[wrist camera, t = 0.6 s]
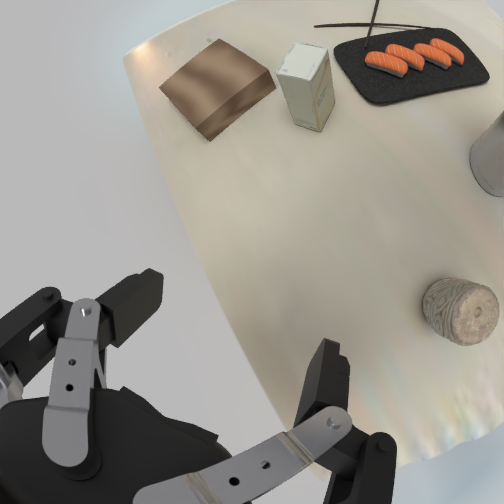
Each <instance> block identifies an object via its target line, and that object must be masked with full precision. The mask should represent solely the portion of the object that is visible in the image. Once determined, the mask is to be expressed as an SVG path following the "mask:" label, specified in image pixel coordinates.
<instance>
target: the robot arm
mask: <svg viewBox="0 0 504 504" xmlns="http://www.w3.org/2000/svg"><path fill="white" fill-rule="evenodd" d="M470 163H471V168H472V171H473V173H474V176H475V178H476V179H477V181H478V183H479V184H480V185H481V186H482V188H483V189H484V190H486V191H487V192H488V193H490V194H491V195H494V196H498V197H501V196H504V111H503V112H502V113H501V114H500V116H499V117H498V118H497V119H496V120H495V121H494V122H493V124H492V125H491V126H490V127H489V128H488V129H487V130H486V131H485V133H484V134H483V135H482V136H481V137H480V138H479V139H478V140H477V141H476V142H475V144H474V145H473V146H472V148H471V152H470ZM163 279H164V277H163V274H161V273H159V272H157V271H155V270H153V269H150V268H149V269H146V270H145V271H144V272H142V273H141V274H134V275H130V276H127V277H126V278H125V279H123V280H122V281H121V282H119V283H117V284H116V285H115V286H113V287H112V288H110V289H109V290H108V291H106V292H105V293H103V294H102V295H101V296H99V297H98V298H96V299H95V300H93V299H89V298H84V299H80V300H78V301H76V302H75V303H73V302H69V301H67V300H64V299H62V297H61V292H60V291H59V290H58V289H57V288H55V287H45V288H42V289H40V290H39V291H37V292H36V293H35V294H33V295H32V296H31V297H29V298H28V299H26V300H25V301H24V302H22V303H21V304H19V305H18V306H17V307H15V309H13V310H11V311H10V312H9V313H7V314H6V315H5V316H3V317H2V318H1V319H0V504H252V502H251V501H253V500H255V499H257V498H258V497H260V496H262V495H264V494H266V493H267V492H269V491H271V490H272V489H274V488H276V487H277V486H279V485H280V484H282V483H283V482H285V481H287V480H288V479H290V478H291V477H293V476H294V475H296V474H297V473H299V472H300V471H302V470H303V469H304V468H306V467H307V466H309V465H310V464H312V463H313V462H316V463H318V464H319V465H321V466H323V467H325V468H326V469H328V470H330V471H332V474H331V477H330V481H329V485H328V488H327V492H326V496H325V499H324V502H323V504H391V502H392V495H393V487H394V478H395V469H396V456H397V445H396V442H395V440H394V439H393V438H392V437H391V436H390V435H389V434H387V433H384V432H376V433H374V434H372V435H371V436H370V435H368V434H366V433H364V432H363V431H361V430H359V429H357V428H356V427H355V426H354V425H353V424H352V419H351V417H350V415H349V414H348V413H347V407H348V394H349V379H350V377H349V376H350V365H349V362H348V360H347V358H346V357H345V356H341V355H339V350H340V343H338V342H335V341H332V340H329V339H326V338H324V339H323V340H322V342H321V344H320V346H319V348H318V349H317V351H316V353H315V355H314V356H313V358H312V360H311V362H310V364H309V367H308V369H307V373H306V377H305V382H304V386H303V390H302V395H301V399H300V403H299V407H298V411H297V415H296V418H295V422H294V426H293V429H292V430H290V431H288V432H286V433H285V432H281V433H278V434H277V435H275V436H273V437H271V438H270V439H268V440H266V441H264V442H262V443H260V444H258V445H256V446H254V447H252V448H250V449H248V450H246V451H244V452H242V453H240V454H238V455H236V456H234V457H232V455H231V454H230V453H229V452H228V451H227V450H226V449H225V448H224V447H223V446H222V445H221V444H219V443H218V442H217V439H218V435H217V434H214V433H212V432H210V431H207V430H205V429H203V428H201V427H198V426H196V425H194V424H190V423H186V422H182V421H178V420H174V419H170V418H167V417H165V416H163V415H162V414H161V413H160V412H158V411H157V410H156V409H155V408H154V407H153V406H152V405H151V404H150V403H149V402H147V401H146V400H145V399H144V398H142V397H141V396H139V395H137V394H136V393H134V392H132V391H131V390H129V389H128V388H126V387H124V386H123V387H122V388H121V389H120V391H117V390H113V389H107V386H106V358H107V356H106V355H107V348H106V347H107V346H108V345H109V344H112V345H113V346H115V347H116V348H118V347H120V346H121V345H122V344H123V343H124V342H125V341H126V340H127V339H128V338H129V337H130V336H131V335H132V334H133V333H134V332H135V331H136V330H137V329H138V328H139V327H140V326H141V325H142V324H143V323H144V322H145V321H147V320H148V319H149V318H150V317H151V316H152V315H153V314H154V313H155V312H156V311H157V310H158V308H159V307H160V305H161V302H162V294H163ZM42 324H43V326H44V329H43V330H42V331H41V332H40V333H38V334H37V335H36V336H35V337H34V338H33V339H32V340H30V341H29V337H30V335H31V333H32V332H33V331H35V330H36V329H37V328H38V327H39V326H40V325H42ZM53 357H55V361H54V366H53V371H52V378H51V385H50V393H49V396H48V397H40V398H32V399H23V398H22V393H23V388H24V387H25V386H26V385H27V384H28V382H30V381H31V379H32V378H33V377H34V376H35V375H36V374H37V373H38V372H39V371H40V370H41V369H42V368H43V367H44V366H45V365H46V364H47V363H48V362H49V361H50V360H52V358H53Z"/></svg>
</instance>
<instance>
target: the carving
mask: <svg viewBox="0 0 504 504" xmlns="http://www.w3.org/2000/svg"><path fill="white" fill-rule="evenodd" d="M423 311H424V314H425V316H426V318H427V321H428V323H429V324H430V325H431V326H432V328H433V329H434V331H435V332H436V333H437V334H439V335H441V336H443V337H445V338H447V339H449V340H450V341H452V342H454V343H456V344H458V345H462V346H470V345H474V344H477V343H480V342H482V341H483V340H485V339H486V338H487V337H488V336H489V335H490V334H491V333H492V331H493V330H494V328H495V326H496V324H497V322H498V318H499V303H498V300H497V298H496V296H495V294H494V293H493V291H492V290H491V289H490V288H489V287H487V286H484V285H480V284H478V283H474V282H471V281H468V280H465V279H455V278H447V279H442V280H439V281H437V282H435V283H434V284H433V285H432V286H431V287H430V288H429V289H428V290H427V292H426V293H425V295H424V299H423Z"/></svg>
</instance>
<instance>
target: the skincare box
mask: <svg viewBox="0 0 504 504" xmlns="http://www.w3.org/2000/svg"><path fill="white" fill-rule="evenodd" d="M276 76H277V78H278V80H279V83H280V85H281V88H282V91H283V93H284V96H285V98H286V101H287V104H288V106H289V109H290V112H291V114H292V117H293V120H294V123H295V124H297V125H300V126H303V127H306V128H309V129H312V130H315V131H318V132H321V130H322V128H323V126H324V124H325V122H326V120H327V118H328V116H329V114H330V112H331V110H332V108H333V106H334V103H335V99H334V90H333V82H332V74H331V67H330V60H329V54H328V49H327V48H323V47H319V46H314V45H310V44H304V43H299V42H295V43H294V45H293V46H292V48H291V49H290V51H289V52H288V54H287V55H286V57H285V58H284V60H283V62H282V63H281V65H280V67H279V68H278V70H277V72H276Z"/></svg>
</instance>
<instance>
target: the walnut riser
mask: <svg viewBox="0 0 504 504" xmlns="http://www.w3.org/2000/svg"><path fill="white" fill-rule="evenodd" d="M159 88H160V90H161V91H162V92H163V93H164V94H165V95H166V96H167V97H168V98H169V99H170V100H171V102H172V103H173V104H174V105H175V106H176V107H177V108H178V109H179V110H180V111H181V113H182V114H183V115H184V116H185V117H186V118H187V119H188V120H189V122H190V123H191V124H192V125H193V126H194V127H195V128H196V129H197V130H198V131H199V132H200V133H201V134H202V135H203V136H205V137H206V138H207V139H208V140H209V141H211V140H213V139H214V138H215V137H216V136H217V135H218V134H219V133H221V132H222V131H223V130H224V129H225V128H226V127H228V126H229V125H230V124H231V123H232V122H234V121H235V120H236V119H237V118H238V117H240V116H241V115H242V114H243V113H245V112H246V111H247V110H248V109H250V108H251V107H252V106H253V105H255V104H256V103H257V102H258V101H260V100H261V99H262V98H264V97H265V96H266V95H268V94H269V93H270V92H272V91H273V90H274V89H276V86H275V84H274V81H273V79H272V77H271V74H270V72H269V70H268V69H267V68H265V67H264V66H262V65H261V64H259V63H258V62H256V61H255V60H253V59H252V58H250V57H249V56H247V55H246V54H244V53H243V52H241V51H239V50H238V49H236V48H235V47H233V46H231V45H230V44H228V43H226V42H225V41H223V40H221V39H218V40H216V41H215V42H213V43H212V44H211V45H209V46H208V47H207V48H205V49H204V50H203V51H201V52H200V53H199V54H198V55H196V56H195V57H194V58H192V59H191V60H190V61H189V62H187V63H186V64H185V65H184V66H183V67H181V68H180V69H179V70H178V71H177V72H176V73H174V74H173V75H172V76H171V77H170V78H169V79H168V80H166V81H165V82H164V83H163V84H162V85H161V86H160V87H159Z"/></svg>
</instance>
